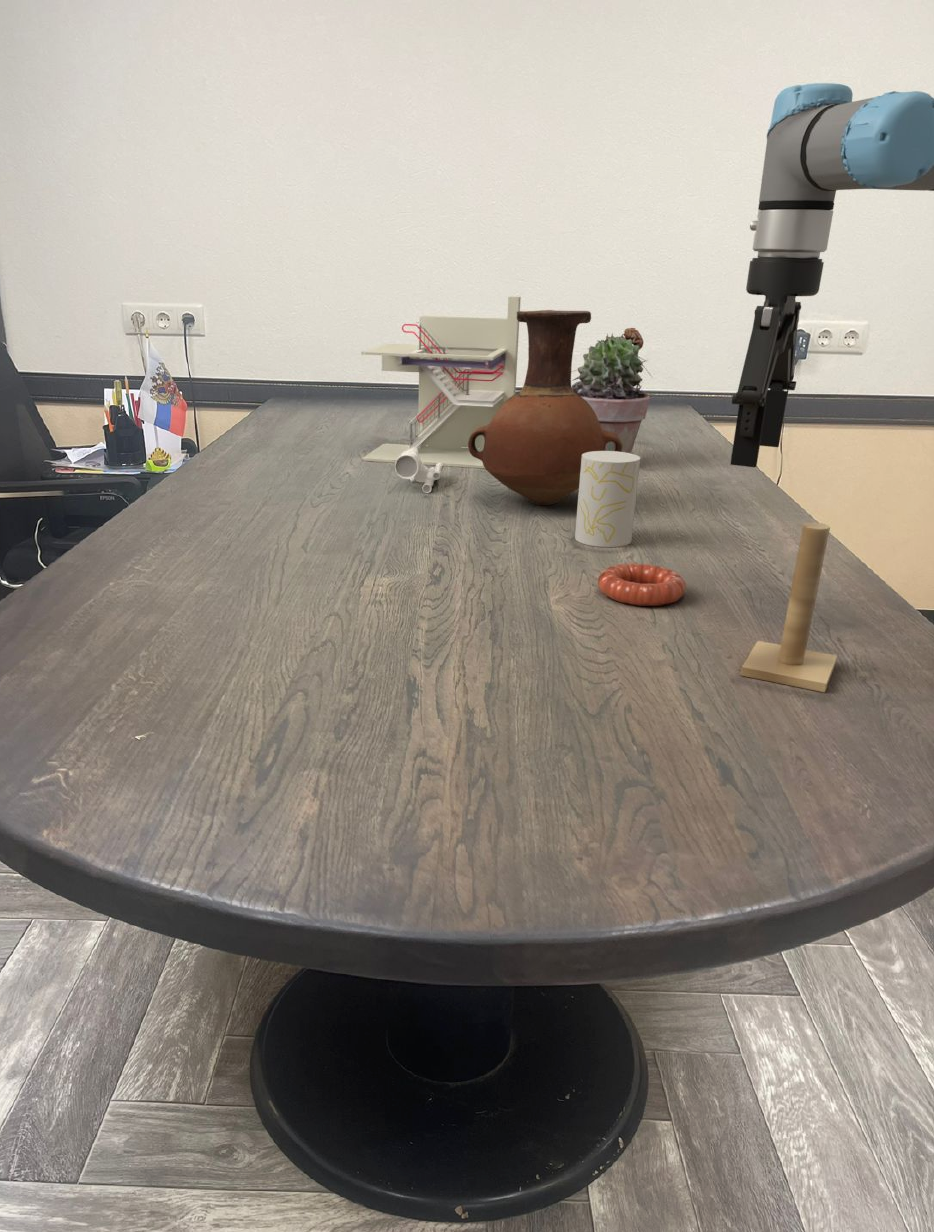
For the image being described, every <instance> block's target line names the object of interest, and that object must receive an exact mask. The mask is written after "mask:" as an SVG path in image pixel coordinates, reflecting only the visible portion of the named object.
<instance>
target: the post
mask: <svg viewBox="0 0 934 1232" xmlns="http://www.w3.org/2000/svg"><path fill="white" fill-rule="evenodd" d="M830 529H831V526H830V525H829V524H826V523H822V522H815V521H813V522H812V521H809V522H804V523H803V524H802V529H801V535H800V539H799V544H798V549H797V550H798V551H797V555H796V561H795V566H794V571H793V576H792V582H791V587H790V593H789V598H788V603H787V609H786V614H785V619H784V624H783V629H782V636H781V641H780V644H779V643H778V644H777V643H773V642H766V641H761V640H757V641H756V643H755V645H754V646H753V647H752V649H751V651H750V652H749V654H748V656H747V657H746V659H745V660H744V662H743V664H742V666H741V669H740V676H741V677H746V678H751V679H757V680H761V681H766V682H770V683H775V684H776V683H777V684H781V685H786V686H791V687H796V688H800V689H806V690H810V691H815V692H820V693H826V691H827V688H828V687H829V684H830V681H831V678H832V675H833V673H834V670H835V667H836V665H837V661H838V657H839V656H838V654H837V655H836V654H831V653H826V652H821V651H814V650H810V649H807V647H808V646H807V644H808V641H809V635H810V630H811V625H812V620H813V615H814V610H815V605H816V600H817V595H818V591H819V586H820V580H821V576H822V570H823V565H824V560H825V556H826V555H825V554H826V550H827V545H828V540H829V536H830Z"/></svg>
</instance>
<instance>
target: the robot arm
mask: <svg viewBox="0 0 934 1232" xmlns="http://www.w3.org/2000/svg"><path fill="white" fill-rule="evenodd" d="M853 95H854V94H853V91H852V89H851V88H850V86H848V85H846V84H843V83H841V84H840V83H832V82H831V83H830V82H821V83H820V82H819V83H818V82H815V83H806V84H802V85H801V84H798V85H797V84H796V85H791V86H788V87H785V88H783V89H782V90H780V91H779V93H778V94H777V96H776V97H775V100H774V102H773V103H774V104H773V108H772V109H773V110H772V114H771V119H770V124H769V128H768V129H767V133H766V145H765V152H764V160H763V168H762V169H763V170H762V176H761V183H760V191H759V199H758V207H757V210H758V211H757V215H756V218H757V220H752V221H751V223H750V224H749V229H750V231H752V232H753V231H754V235H753V241H752V250H753V252H757V257H752V260H750V261H749V266H748V271H747V272H748V274H747V279H746V287H745V290H746V293H747V294H749V295H751V296H752V295H753V296H764V302H763V305H757V306H756V308H755V309H754V318H753V324H752V328H751V329H752V330H751V334H750V337H749V342H748V346H747V351H746V355H745V359H744V363H743V366H742V371H741V375H740V380H739V384H738V388H737V391H736V393H735V394H733V395H732V397H731V404H732V405H738V409H737V417H736V423H735V430H734V437H733V443H732V450H731V457H730V462H729V463H730V466H738V467H739V466H740V467H748V468H756V467H758V458H759V453H760V448H761V447H771V448H779V446H780V441H781V437H782V430H783V423H784V418H785V412H786V406H787V401H788V394H789V391H795V390H796V386H797V380H794V377H795V375H794V370H795V369H794V368H795V358H796V349H797V337H798V328H799V321H800V313H801V310H802V302H801V301H796V297H814V296H816V295H817V294H818V293H819V291H820V286H821V281H822V276H823V271H824V264H825V262H824V261H823V259H822V258H820V255H821V253H825V252H826V251H827V250H828V245H829V238H830V232H831V228H832V221H833V215H834V207H835V199H836V193H837V191H847V190H849V191H850V190H851V191H852V190H888V191H890V190H891V191H920V192H921V191H924V192H925V191H930V192H934V96H932V95H930V94H929V93H927V92H925V91H918V90H914V91H913V90H912V91H895V90H894V91H889V92H884V93H883V94H881V95H877V96H874V97H870V98H863V99H859V100H855V101H853Z"/></svg>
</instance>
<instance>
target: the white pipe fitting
mask: <svg viewBox="0 0 934 1232" xmlns="http://www.w3.org/2000/svg"><path fill="white" fill-rule="evenodd" d="M443 468H444V466H443V465H442V464H441V463H437V464H436V465H435V466H431V467H428V465H425V464H424V463H423V462H422V461H421V460H420V457H419V453H418V450H417V448H415V447H412V448H410V449H408V450H407V451H404V452H402V453H401V454H400V456H399V458H398V459H397V461H396V463H394V470H395V473H396V475H397V476H398V477H400V478H401V479H404V480H410V482H412V483H414V482H417V483H423V485H422V487H421V489H422V492H423V493H424V494H429V493H431V492H432V487H433V486H434V483H435V481H437V480H439V479H440V478H441V473H442V471H443Z"/></svg>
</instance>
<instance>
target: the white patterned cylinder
mask: <svg viewBox="0 0 934 1232" xmlns="http://www.w3.org/2000/svg"><path fill="white" fill-rule="evenodd" d="M640 464H641V456H639V455H637V454H634V453H632V452H631V453H626V452H617V451H592V452H586V453H584V454H582V459H581V471H580V483H579V489H578V496H577V507H576V508H577V509H576V521H575V533H574V539H575V540H576V541H577V542H579V543H580V544H584V545H587V546H590V547H591V546H592V547H598V548H619V547H625V546H627V545H630V544H631V543H632V538H633V537H632V536H633V529H634V520H635V511H636V501H637V493H638V485H639V483H638V482H639V474H640Z"/></svg>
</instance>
